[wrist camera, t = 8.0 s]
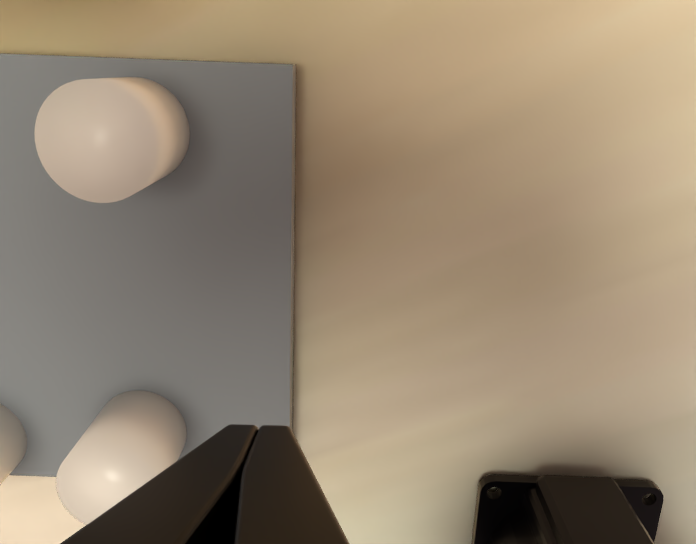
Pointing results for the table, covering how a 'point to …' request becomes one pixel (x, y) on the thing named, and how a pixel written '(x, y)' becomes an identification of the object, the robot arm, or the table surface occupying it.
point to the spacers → (105, 187)
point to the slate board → (150, 261)
